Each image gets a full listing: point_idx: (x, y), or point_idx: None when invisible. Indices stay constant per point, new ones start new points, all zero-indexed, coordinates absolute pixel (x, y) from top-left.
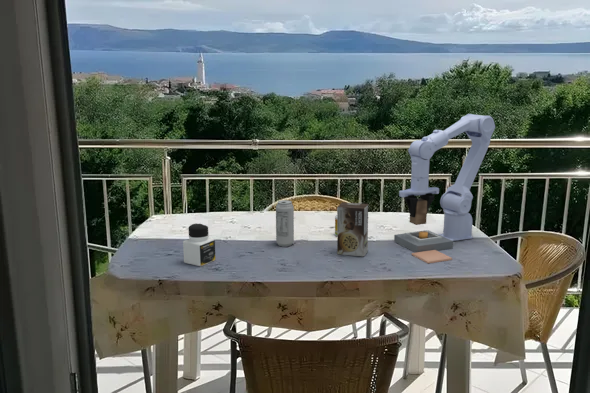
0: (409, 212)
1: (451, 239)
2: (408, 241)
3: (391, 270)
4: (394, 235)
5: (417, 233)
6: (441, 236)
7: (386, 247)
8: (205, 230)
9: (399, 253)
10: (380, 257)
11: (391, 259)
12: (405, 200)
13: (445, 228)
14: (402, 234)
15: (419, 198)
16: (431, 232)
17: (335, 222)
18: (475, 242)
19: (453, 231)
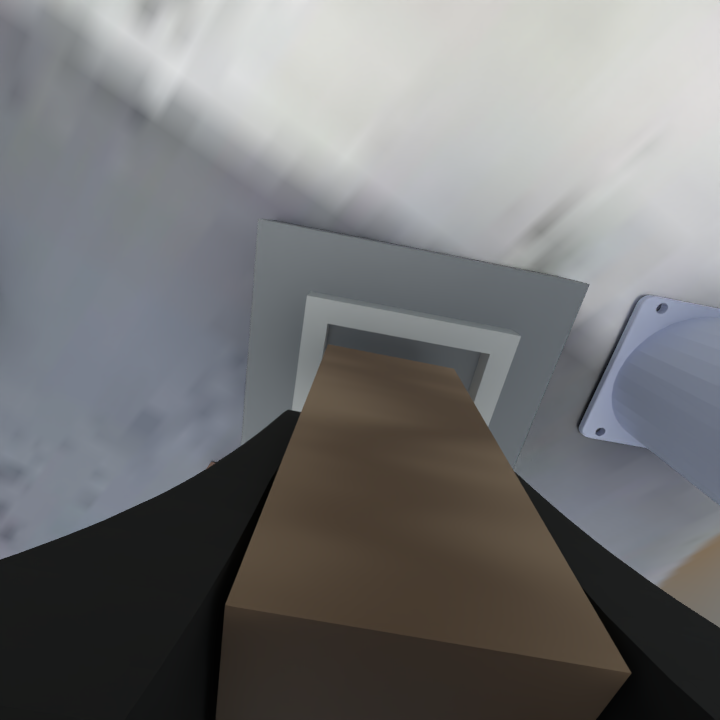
0: (266, 428)
1: (595, 426)
2: (247, 403)
3: (13, 541)
4: (259, 221)
5: (409, 337)
6: (517, 443)
7: (154, 290)
8: None
9: (167, 412)
10: (35, 404)
11: (78, 453)
12: (31, 556)
13: (667, 396)
14: (322, 252)
15: (571, 679)
16: (494, 400)
17: None
18: (664, 501)
19: (655, 450)
